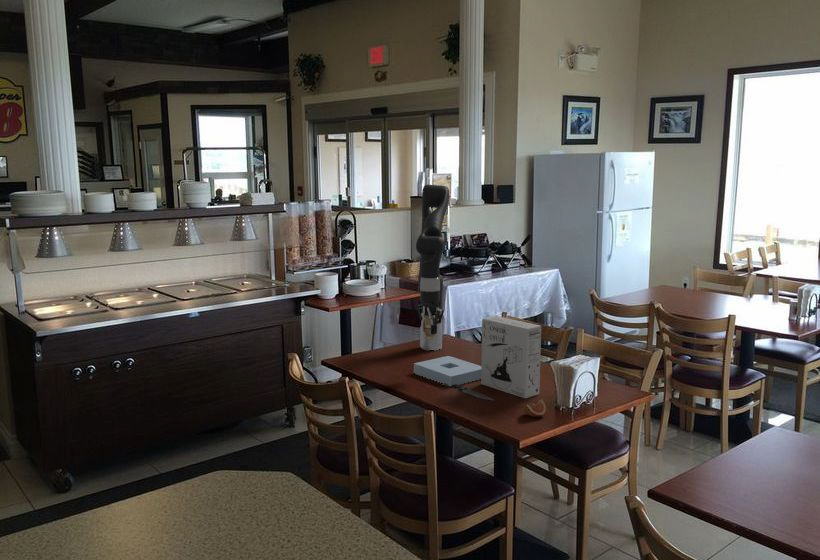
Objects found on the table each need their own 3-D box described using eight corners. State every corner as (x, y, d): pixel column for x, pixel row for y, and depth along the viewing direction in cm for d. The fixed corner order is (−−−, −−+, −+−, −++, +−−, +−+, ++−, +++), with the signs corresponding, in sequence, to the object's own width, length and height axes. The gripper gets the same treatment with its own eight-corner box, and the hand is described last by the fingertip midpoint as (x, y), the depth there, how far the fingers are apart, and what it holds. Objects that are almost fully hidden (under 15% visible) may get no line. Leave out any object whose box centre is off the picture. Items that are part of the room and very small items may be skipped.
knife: (487, 404, 237) (498, 401, 240) (487, 401, 237) (498, 398, 240) (439, 385, 258) (449, 382, 261) (439, 382, 258) (449, 380, 261)
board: (413, 373, 272) (413, 363, 271) (448, 365, 283) (448, 355, 282) (451, 387, 255) (451, 376, 254) (486, 378, 266) (486, 367, 265)
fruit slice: (532, 422, 220) (533, 406, 219) (516, 416, 225) (517, 401, 224) (549, 416, 225) (550, 401, 224) (533, 410, 230) (534, 396, 229)
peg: (422, 338, 267) (422, 315, 265) (430, 336, 269) (430, 314, 267) (428, 340, 263) (428, 317, 262) (437, 338, 266) (437, 315, 264)
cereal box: (480, 384, 258) (481, 318, 254) (494, 380, 263) (496, 315, 259) (525, 399, 241) (527, 328, 238) (539, 394, 246) (541, 325, 242)
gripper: (449, 290, 260) (449, 335, 262) (426, 285, 271) (426, 328, 274) (433, 292, 255) (433, 338, 258) (411, 287, 266) (411, 330, 269)
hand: (430, 332), depth 266 cm, fingers closed on peg, 4 cm apart
